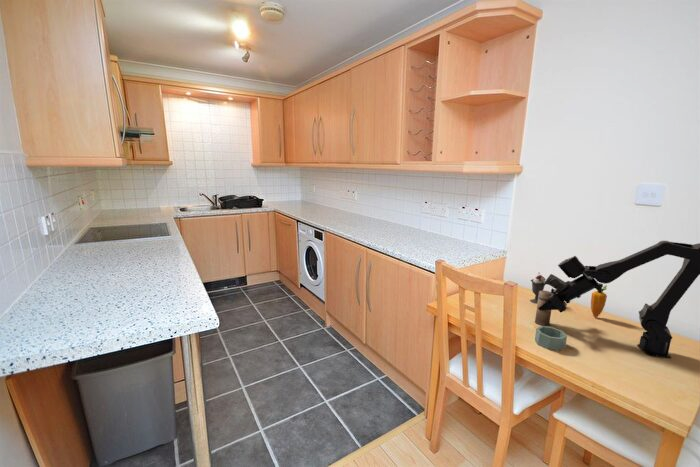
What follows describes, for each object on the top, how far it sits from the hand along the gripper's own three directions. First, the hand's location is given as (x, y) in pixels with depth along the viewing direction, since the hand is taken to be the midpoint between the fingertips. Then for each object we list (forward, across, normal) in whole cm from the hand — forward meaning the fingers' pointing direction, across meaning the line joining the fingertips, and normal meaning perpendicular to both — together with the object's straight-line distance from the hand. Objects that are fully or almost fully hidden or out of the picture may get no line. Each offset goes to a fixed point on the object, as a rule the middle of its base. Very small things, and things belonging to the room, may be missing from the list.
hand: (540, 306), depth 127 cm
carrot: (-8, -20, +18) cm, 28 cm away
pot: (+1, +16, +9) cm, 19 cm away
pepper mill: (+4, 0, +6) cm, 7 cm away
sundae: (+8, -23, +2) cm, 24 cm away
